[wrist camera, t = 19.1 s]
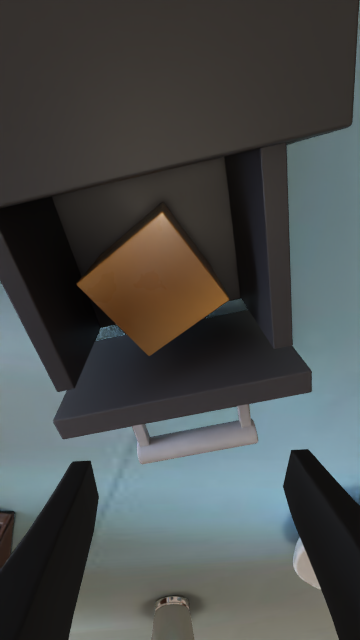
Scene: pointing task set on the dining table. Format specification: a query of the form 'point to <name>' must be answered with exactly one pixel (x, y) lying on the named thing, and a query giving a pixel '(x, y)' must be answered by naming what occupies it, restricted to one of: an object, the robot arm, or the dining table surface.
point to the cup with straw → (172, 619)
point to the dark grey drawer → (192, 345)
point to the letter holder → (5, 535)
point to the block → (154, 282)
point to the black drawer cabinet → (163, 85)
